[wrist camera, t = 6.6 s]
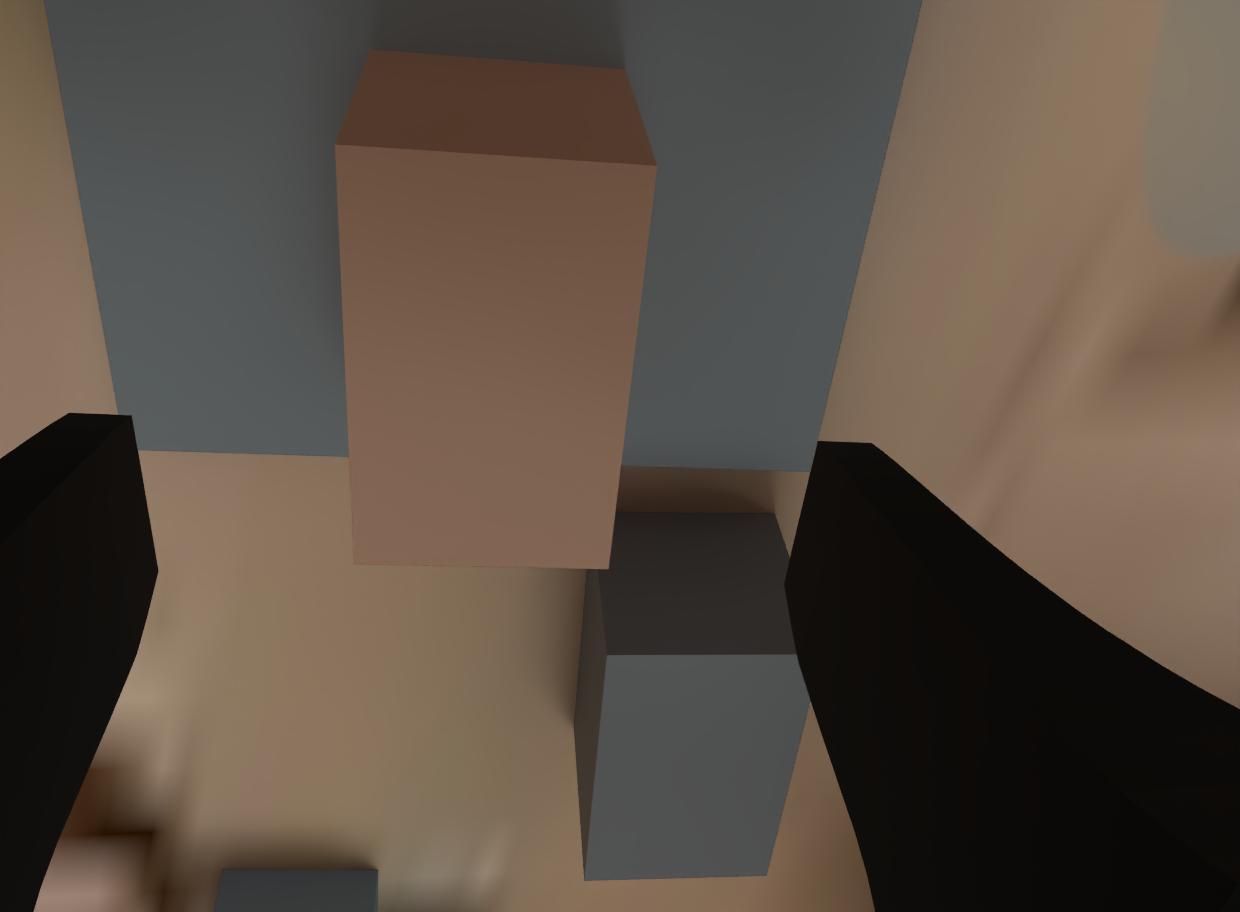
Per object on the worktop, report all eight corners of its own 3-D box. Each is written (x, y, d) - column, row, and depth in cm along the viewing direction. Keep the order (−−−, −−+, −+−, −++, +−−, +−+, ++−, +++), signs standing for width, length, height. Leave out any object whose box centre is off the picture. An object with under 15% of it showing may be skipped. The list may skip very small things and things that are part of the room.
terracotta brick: (625, 69, 16) (656, 165, 13) (590, 420, 19) (608, 569, 16) (370, 50, 15) (335, 144, 12) (380, 412, 19) (353, 564, 16)
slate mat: (923, -67, 16) (937, -60, 15) (802, 453, 21) (809, 471, 20) (33, -155, 14) (17, -149, 14) (134, 430, 19) (125, 449, 19)
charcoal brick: (773, 509, 22) (821, 654, 18) (732, 721, 25) (766, 875, 22) (590, 507, 21) (607, 655, 18) (573, 723, 25) (584, 880, 21)
